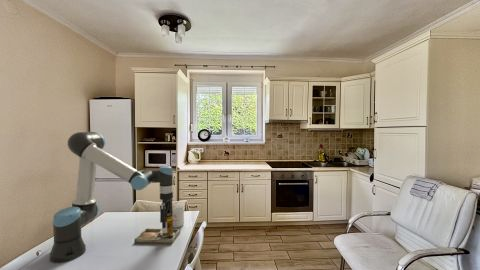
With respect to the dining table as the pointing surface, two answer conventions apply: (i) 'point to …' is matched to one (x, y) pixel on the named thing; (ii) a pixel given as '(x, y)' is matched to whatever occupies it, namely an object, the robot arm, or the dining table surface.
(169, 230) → the condiment
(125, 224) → the dining table surface
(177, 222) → the mug
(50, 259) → the robot arm
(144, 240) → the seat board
